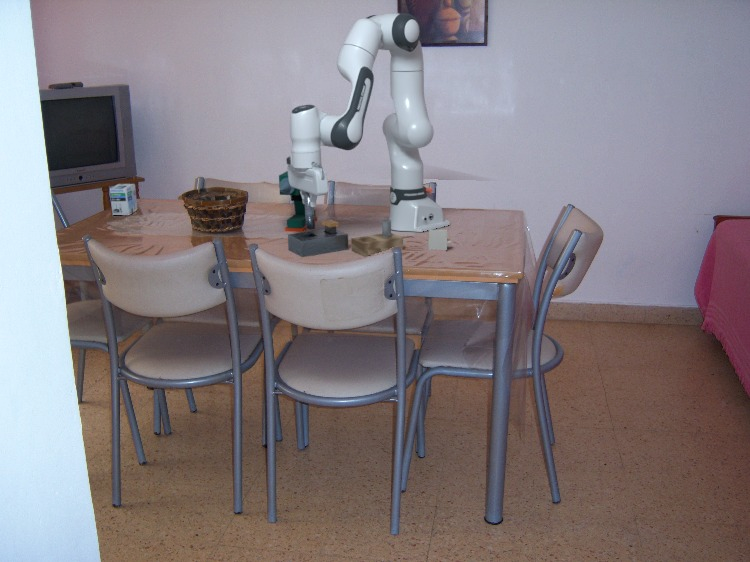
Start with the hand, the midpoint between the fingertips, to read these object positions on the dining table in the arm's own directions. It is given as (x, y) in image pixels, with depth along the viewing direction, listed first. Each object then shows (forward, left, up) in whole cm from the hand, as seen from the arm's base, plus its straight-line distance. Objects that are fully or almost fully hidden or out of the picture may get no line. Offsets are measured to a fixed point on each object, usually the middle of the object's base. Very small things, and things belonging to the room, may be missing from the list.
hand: (309, 205), depth 241 cm
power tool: (-8, -28, -15) cm, 33 cm away
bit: (0, 0, -7) cm, 7 cm away
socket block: (-3, 0, -15) cm, 15 cm away
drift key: (-7, 0, -14) cm, 16 cm away
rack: (-17, +11, -15) cm, 25 cm away
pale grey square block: (-33, +22, -15) cm, 42 cm away
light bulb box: (+35, -90, -15) cm, 97 cm away
